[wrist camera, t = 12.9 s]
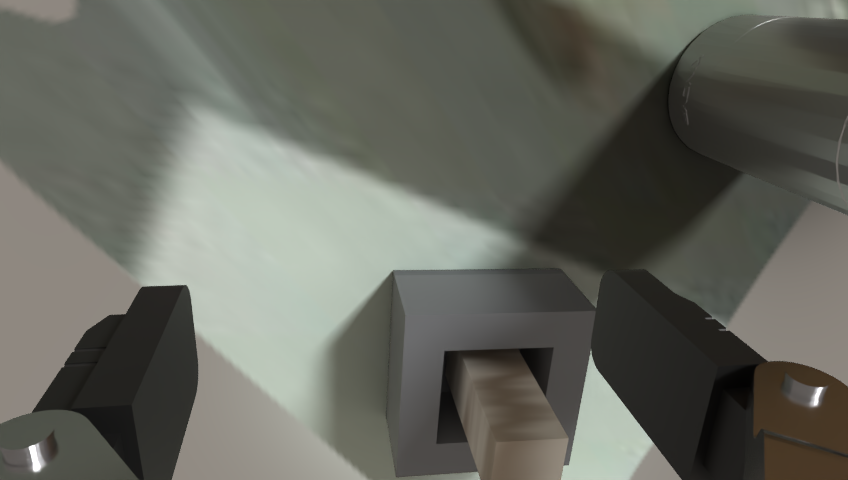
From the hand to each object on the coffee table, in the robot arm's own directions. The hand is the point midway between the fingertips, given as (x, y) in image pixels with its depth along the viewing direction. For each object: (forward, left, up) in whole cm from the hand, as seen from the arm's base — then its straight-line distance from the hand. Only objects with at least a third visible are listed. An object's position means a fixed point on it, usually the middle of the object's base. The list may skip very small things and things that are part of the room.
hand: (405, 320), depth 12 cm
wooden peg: (-10, +17, -26) cm, 33 cm away
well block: (-9, +17, -27) cm, 33 cm away
